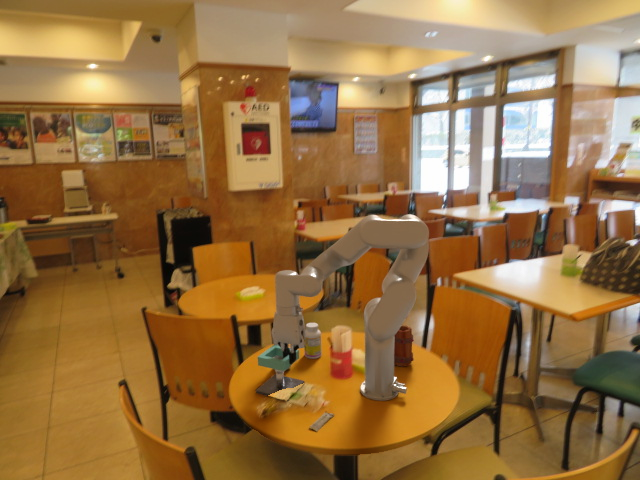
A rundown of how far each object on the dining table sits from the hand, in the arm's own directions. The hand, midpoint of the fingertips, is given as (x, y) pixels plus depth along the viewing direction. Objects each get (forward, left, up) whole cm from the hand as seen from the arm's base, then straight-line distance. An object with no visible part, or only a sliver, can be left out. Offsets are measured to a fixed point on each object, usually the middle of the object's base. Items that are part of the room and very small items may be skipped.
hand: (289, 361), depth 144 cm
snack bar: (-17, +11, -11) cm, 23 cm away
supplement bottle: (+5, -26, -11) cm, 29 cm away
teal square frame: (+4, 0, -1) cm, 4 cm away
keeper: (+4, 0, -11) cm, 11 cm away
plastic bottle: (+11, -12, -11) cm, 19 cm away
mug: (-26, -34, -11) cm, 44 cm away
